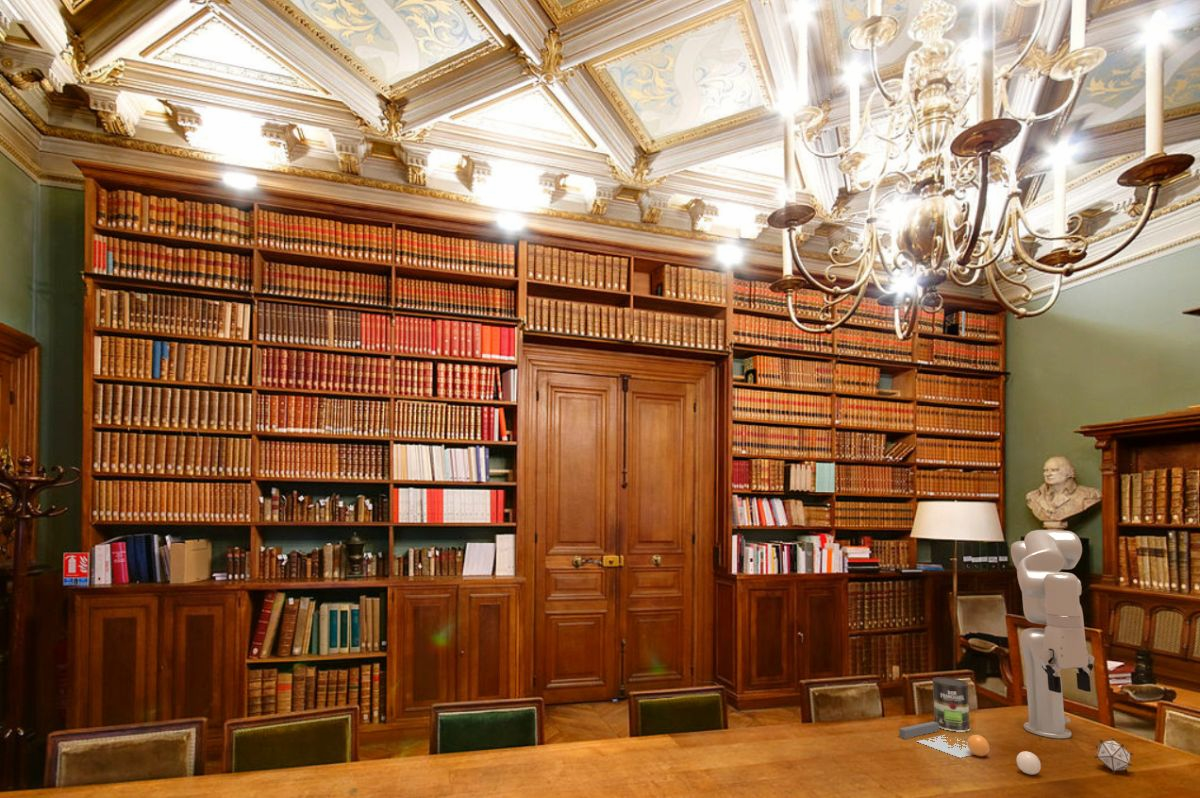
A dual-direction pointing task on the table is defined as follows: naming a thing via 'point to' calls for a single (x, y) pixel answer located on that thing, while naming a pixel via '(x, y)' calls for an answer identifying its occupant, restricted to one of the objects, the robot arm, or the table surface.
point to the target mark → (944, 747)
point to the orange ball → (978, 745)
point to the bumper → (918, 729)
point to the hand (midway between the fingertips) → (1069, 691)
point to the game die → (1113, 755)
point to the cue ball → (1028, 762)
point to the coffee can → (951, 704)
